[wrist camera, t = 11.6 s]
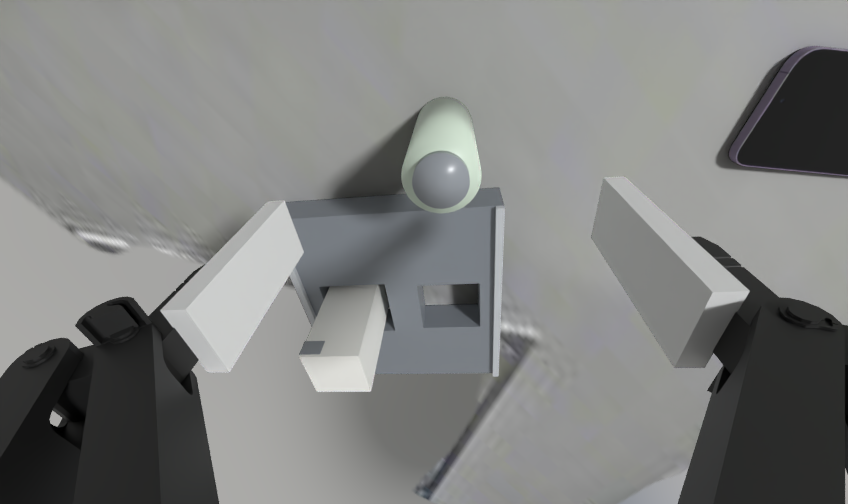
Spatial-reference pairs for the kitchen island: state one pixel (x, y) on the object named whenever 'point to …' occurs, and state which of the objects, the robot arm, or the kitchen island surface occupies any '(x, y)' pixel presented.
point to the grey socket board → (410, 274)
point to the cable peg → (442, 158)
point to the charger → (346, 338)
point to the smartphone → (801, 117)
